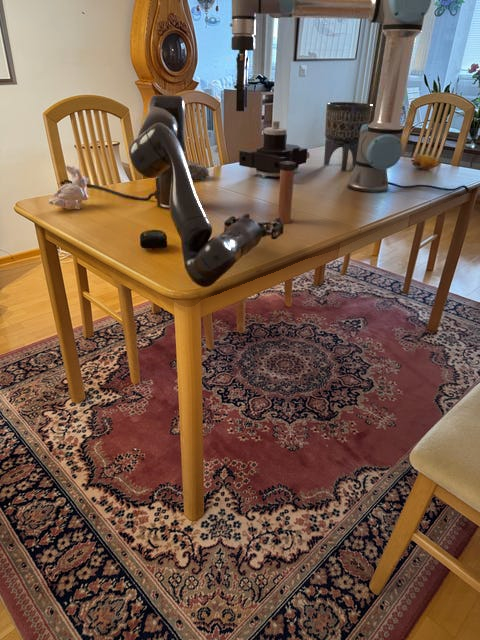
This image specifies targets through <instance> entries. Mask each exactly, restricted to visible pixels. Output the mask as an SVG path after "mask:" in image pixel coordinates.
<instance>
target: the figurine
mask: <svg viewBox="0 0 480 640" xmlns="http://www.w3.org/2000/svg"><path fill="white" fill-rule="evenodd" d="M65 170H66V171H67V172H68V173H69V174H70V175H71V179H72V180H71V181H72V183H64V184H62V186H61V187H59V188H58V189H57V190H56V192H55V193H54V194H53V195H52V198H50V199H49V200H47V203H48V205H51V206H53V205H55V206H56V207H58V208H61V209H63V208H64V209H66V210H80V207H78V205H82V204H84V202H83V201H88V200H89V199H90V198H89V195H88V193H87V192H88V189H87V188H86V187H87V186H86V184H88V182H89V181H90V180H89V179H90V178H89V177H86V176H84V175H82V172H81V170H80V169H79V168H76V167H75V166H74V165H73V166H70V165H66V166H65Z"/></svg>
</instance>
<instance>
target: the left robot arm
mask: <svg viewBox="0 0 480 640" xmlns="http://www.w3.org/2000/svg"><path fill="white" fill-rule="evenodd" d="M147 106H148V107H147V112H146V115H145V117H144V118H143V121H142V124H141V127H140V129H139V131H138V134H137V137H136V138H135V139H134V140H132V142H131V143H130V144H129V146H128V156H129V159H130V163H131V165H132V166H133V168H134V169H135V170H136V172H138V174H140V175H141V176H143V177H145V178H148V179H155V190H154V192H151V193H150V194H148V196H147V197H140V196H134V195H130V194H125V193H122V192H119V191H115V190H114V189H110V188H107V187H103V186H100V185H96V184H90V183H87V184H86V187H88V188H95V189H97V190H102V191H104V192H105V191H106V192H108V193H111V194H113V195H116V196H119V197H122V198H128V199H131V200H135V201H144V202H145V201H150V200H151V199H152V197H154V199H155V200H156V204H157V205H156V206H157V207H160V208H162V209H166V210H169V214H170V219H171V221H172V223H173V224H174V227H175V229H176V231H177V234H178V236H179V238H180V243H181V251H182V256H183V257H182V258H183V263H184V268H185V271H186V273H187V275H188V277H189V279H190V280H191V281H192V282H193V283H194V284H195V285H197V286H199V287H202V288H208V287H211V286H212V285H214V284H215V283H216V282H217V281H218V280H219V279H220V278H221V277H223V276H224V275H225V274H226V273H227V272H228V271H229V270H230V269H231V268H233V266H234V265H235V264H236V263H237V262H239V261H240V260H241V259H242V258H243V257H244V256H247V255H248V254H249V253H250V252H251V251H252V250H253V249H254V248H255V247H256V246H258V245H259V243H260V242H261V240H262V238H265V237H267V236H269V237H271V240H277V239H278V238H280V237H281V236H282V235H283V234H284V227H285V226H284V225H285V223H281V220H280V218H278V217H276V218H275V219H274V220H273V221H269V220H262V221H258V220H257V221H255V220H254V219H253V218H250V213H244V214H243V215H242V216H238V217H236V216H234V215H232V216H230V217H228V219H226V220H225V221H224V222H223V223H224V225H223V229H224V231H222V232H221V233H220V234H218V235H216V236H213V237H212V234H213V227H212V225H211V222H210V220H209V218H208V216H207V214H206V212H205V210H204V208H203V205H202V204H201V201H200V200H199V197H198V194H197V192H196V189H195V185H194V181H192V178H191V175H190V171H189V168H188V165H187V162H188V161H187V153H186V151H187V150H186V149H187V148H186V105H185V101H184V98H183V96H182V95H180V94H179V95H178V94H155V95H152V96H151V97H150V99H149V101H148V104H147ZM63 180H64V182H63ZM63 180H61V181H60V184H61V185H64V184H66V183H67V184H71V183H72V181H73V180H71V179H63Z"/></svg>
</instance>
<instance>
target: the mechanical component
mask: <svg viewBox="0 0 480 640" xmlns="http://www.w3.org/2000/svg"><path fill="white" fill-rule="evenodd" d="M287 138H288V129H287V128H286V127H280V121H279V120H272V126H271V127H265V128H264V129H263V145H262V146H258V147H257V148H256V151H250V150H245V149H241V150H239V153H238V154H239V155H238V157H239V159H238V166H240V167H245V168H250V169H255V173H256V174H257V175H261V177H262V178H267V177H280V171H281V169H280V162H282V161H292V162H295V163H296V169H295V170H294V174H295V173H298V171H299V167H300V165H303V164H304V165H305V164H307V160H309V158H310V156H311V154H310V152H309V151H308V148H304V147H301V146H299V145H297V144H290V143H287Z"/></svg>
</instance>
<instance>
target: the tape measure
mask: <svg viewBox="0 0 480 640" xmlns="http://www.w3.org/2000/svg"><path fill="white" fill-rule="evenodd" d="M167 236H168V235H167V234H166V232H165V231H164V230H161V229H147V230H144V231H143V232H141V233H140V235H139V240H140V241H139V245H140V246H139V247H141V248H142V249H146V250H157V249H167V248H168V240H167V239H168V237H167Z"/></svg>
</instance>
